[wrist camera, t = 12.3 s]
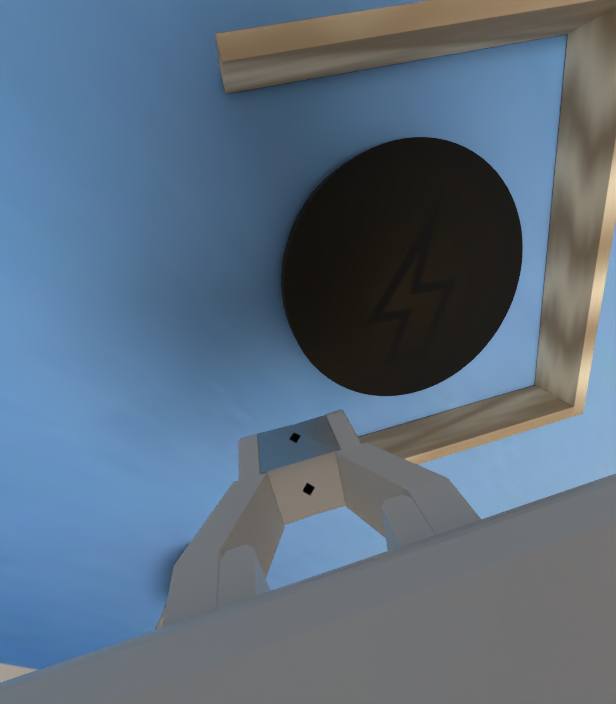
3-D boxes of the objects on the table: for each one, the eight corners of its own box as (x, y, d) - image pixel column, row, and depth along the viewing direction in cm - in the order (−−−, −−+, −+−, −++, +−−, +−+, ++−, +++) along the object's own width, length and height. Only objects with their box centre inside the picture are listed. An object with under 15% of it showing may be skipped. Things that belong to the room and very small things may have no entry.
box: (220, 71, 18) (215, 33, 14) (583, 10, 20) (658, -36, 17) (314, 459, 29) (325, 493, 25) (543, 391, 31) (582, 413, 28)
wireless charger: (493, 107, 22) (517, 97, 20) (508, 341, 29) (526, 349, 27) (242, 195, 21) (242, 192, 19) (321, 414, 28) (327, 427, 26)
